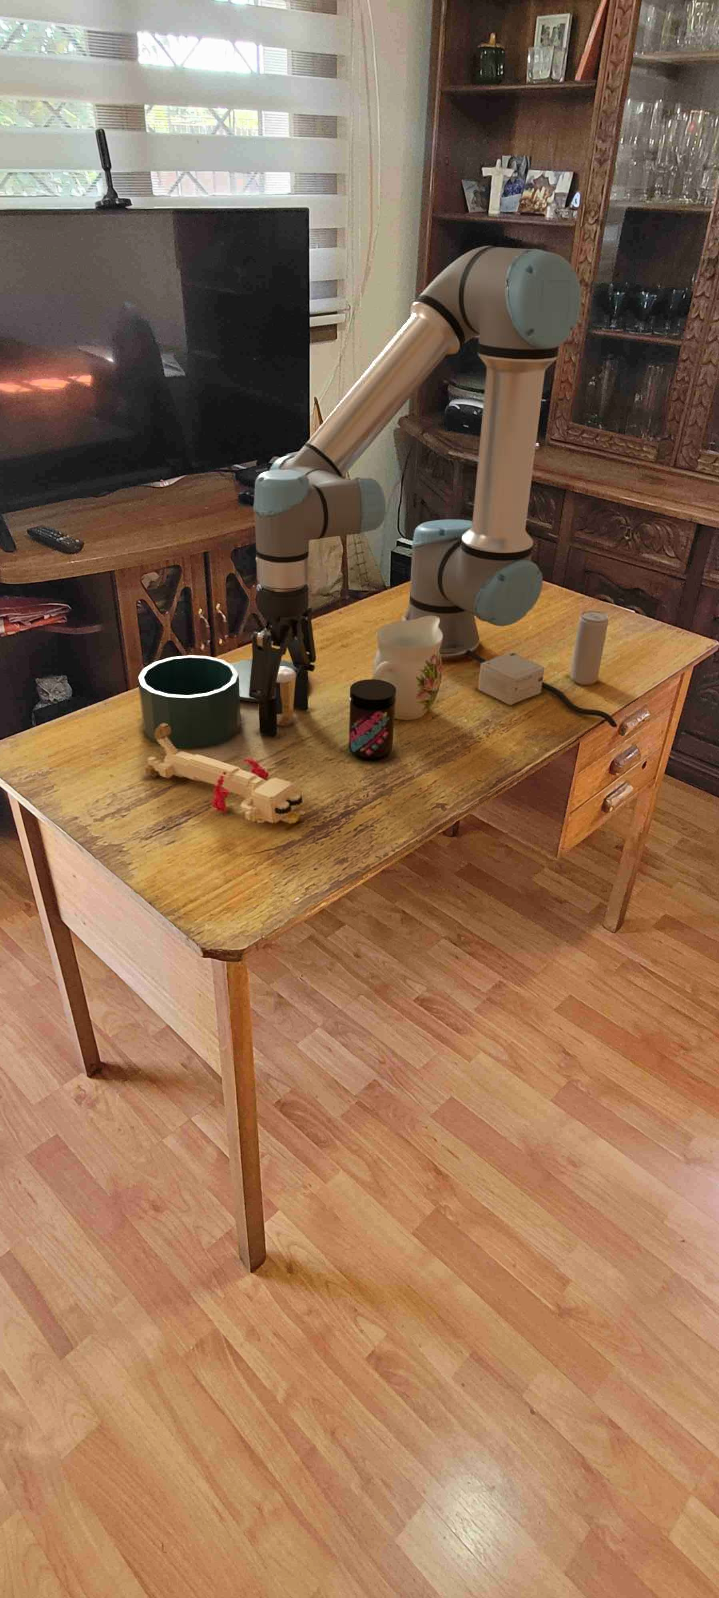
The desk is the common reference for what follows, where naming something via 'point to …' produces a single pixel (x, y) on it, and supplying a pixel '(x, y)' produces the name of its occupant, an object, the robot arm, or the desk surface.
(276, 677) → the robot arm
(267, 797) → the blocky axolotl figure
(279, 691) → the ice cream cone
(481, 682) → the small box
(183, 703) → the tin
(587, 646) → the beverage can
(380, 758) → the supplement container
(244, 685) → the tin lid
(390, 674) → the pitcher
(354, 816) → the desk surface
